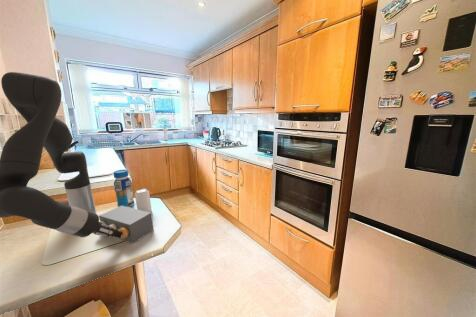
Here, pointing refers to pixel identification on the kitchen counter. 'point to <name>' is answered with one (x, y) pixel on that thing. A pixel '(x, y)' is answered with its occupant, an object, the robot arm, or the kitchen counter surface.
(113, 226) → the button cream
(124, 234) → the button orange
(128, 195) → the beverage bottle
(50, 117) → the robot arm
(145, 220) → the control box
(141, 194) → the can
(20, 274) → the kitchen counter surface
